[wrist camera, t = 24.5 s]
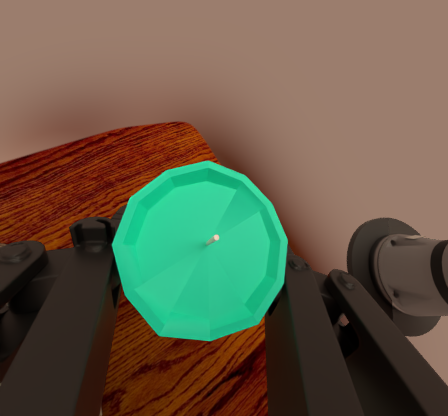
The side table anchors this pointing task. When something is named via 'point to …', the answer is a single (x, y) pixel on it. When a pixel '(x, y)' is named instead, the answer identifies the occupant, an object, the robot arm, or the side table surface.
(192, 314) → the candle
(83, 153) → the side table surface
